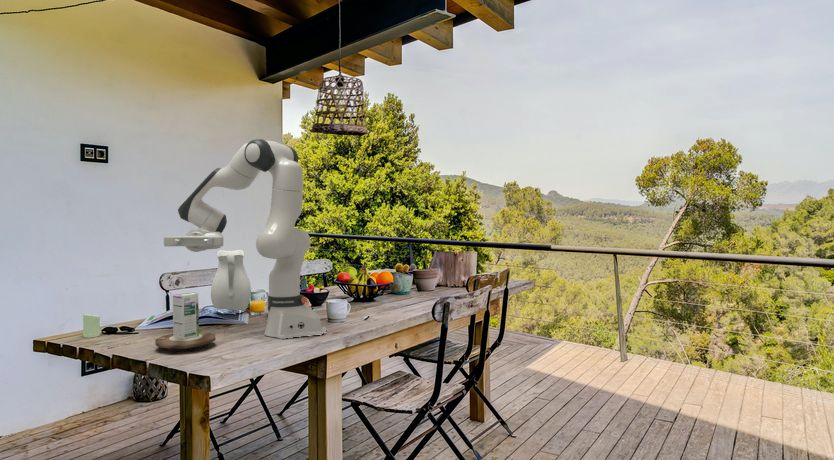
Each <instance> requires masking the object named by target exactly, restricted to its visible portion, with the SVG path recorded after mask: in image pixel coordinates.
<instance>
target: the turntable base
mask: <svg viewBox="0 0 834 460" xmlns="http://www.w3.org/2000/svg"><path fill="white" fill-rule="evenodd" d="M203 346H204V345H201V346H196V347H188V348H168V350H170V351H173V352H188V351H189V352H190V351H194V350H199V349H201V348H202V347H203Z"/></svg>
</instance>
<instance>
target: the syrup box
mask: <svg viewBox="0 0 834 460" xmlns="http://www.w3.org/2000/svg"><path fill="white" fill-rule="evenodd" d="M199 310H200V309H199V292H194V291H187V292H180V293H174V294H172V322H173V323H172V326H173V327H172V329H173V331H172V332H173V333H172V334H173V337H175V338H178V339H183V340H184V339H187V338H192V337H197V336H199V331H200V327H199V325H200V321H199V319H200V318H199V316H200V315H199V314H200V313H199V312H200V311H199Z"/></svg>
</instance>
